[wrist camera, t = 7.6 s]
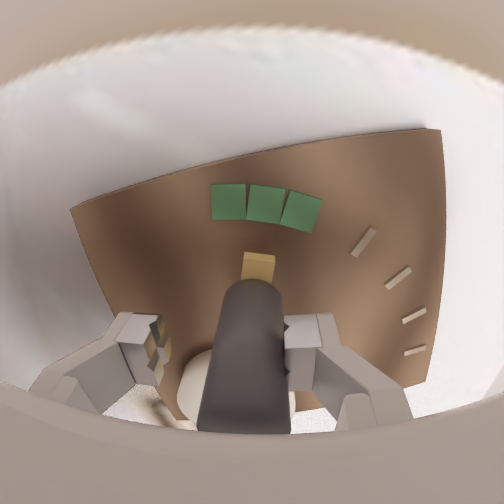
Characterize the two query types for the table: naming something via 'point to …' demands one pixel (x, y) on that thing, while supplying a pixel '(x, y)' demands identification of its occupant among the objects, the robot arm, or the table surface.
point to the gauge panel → (286, 246)
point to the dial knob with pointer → (242, 361)
